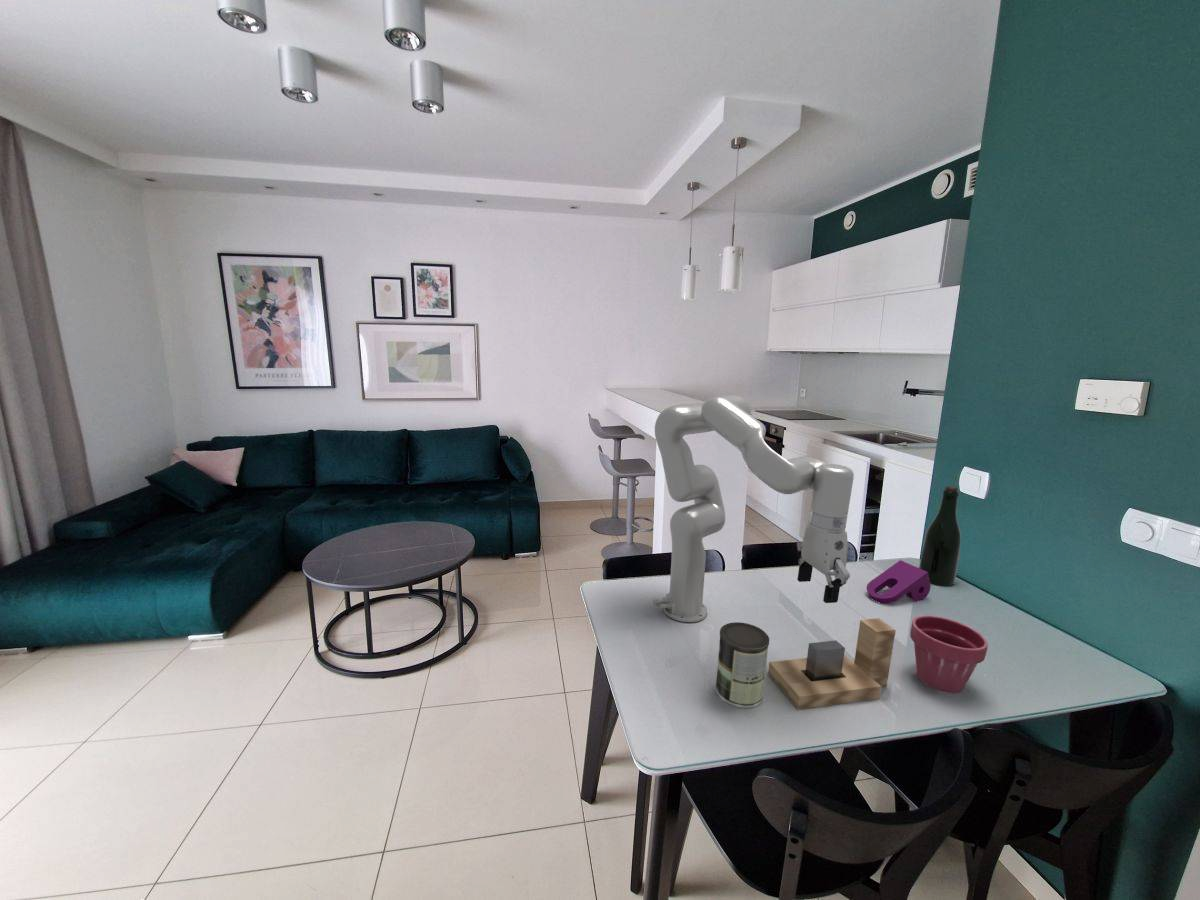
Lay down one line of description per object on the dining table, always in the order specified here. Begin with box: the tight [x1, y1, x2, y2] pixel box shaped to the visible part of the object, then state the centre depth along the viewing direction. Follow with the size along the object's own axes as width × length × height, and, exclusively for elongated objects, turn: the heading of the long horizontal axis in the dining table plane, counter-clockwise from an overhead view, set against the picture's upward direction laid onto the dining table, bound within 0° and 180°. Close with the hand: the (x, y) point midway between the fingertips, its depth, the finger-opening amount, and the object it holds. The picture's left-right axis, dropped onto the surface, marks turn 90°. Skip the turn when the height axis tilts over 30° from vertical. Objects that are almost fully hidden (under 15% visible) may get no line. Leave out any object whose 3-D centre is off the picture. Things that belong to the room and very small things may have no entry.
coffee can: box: [714, 621, 770, 709], centre depth 107 cm, size 10×10×14 cm
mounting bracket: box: [866, 559, 932, 605], centre depth 156 cm, size 10×8×18 cm
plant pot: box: [909, 615, 989, 694], centre depth 114 cm, size 14×14×13 cm
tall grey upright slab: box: [805, 640, 846, 682], centre depth 111 cm, size 7×3×10 cm, turn 102°
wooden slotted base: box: [767, 617, 897, 710], centre depth 111 cm, size 25×12×14 cm, turn 102°
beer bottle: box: [918, 485, 962, 587], centre depth 165 cm, size 10×10×33 cm
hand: (816, 591), depth 112 cm, fingers open, 9 cm apart
